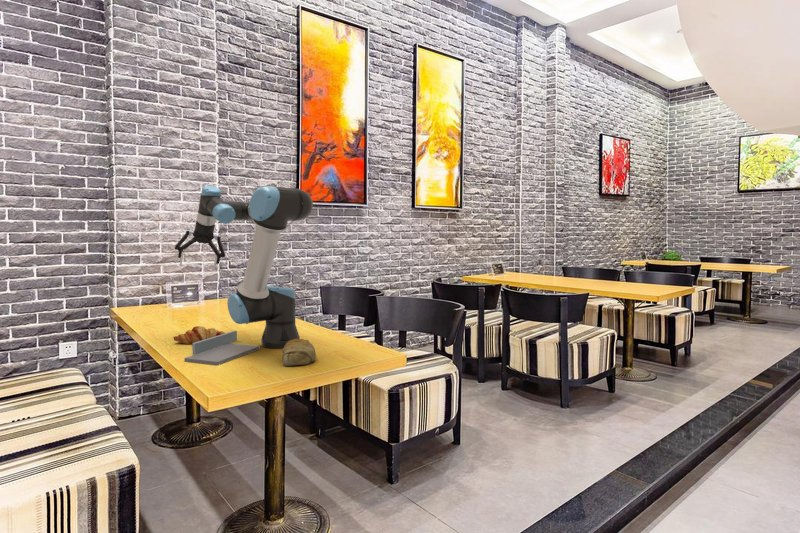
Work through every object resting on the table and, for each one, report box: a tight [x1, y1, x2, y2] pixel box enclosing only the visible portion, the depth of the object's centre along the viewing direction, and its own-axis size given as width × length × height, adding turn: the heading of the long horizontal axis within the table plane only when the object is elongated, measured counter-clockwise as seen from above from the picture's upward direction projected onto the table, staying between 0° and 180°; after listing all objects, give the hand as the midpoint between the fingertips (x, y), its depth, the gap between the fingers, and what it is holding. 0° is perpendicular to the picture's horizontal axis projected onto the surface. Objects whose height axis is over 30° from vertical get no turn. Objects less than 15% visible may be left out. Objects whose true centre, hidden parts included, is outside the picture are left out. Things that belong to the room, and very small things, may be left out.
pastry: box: [281, 338, 317, 367], centre depth 172 cm, size 14×12×8 cm
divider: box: [191, 330, 238, 355], centre depth 193 cm, size 1×24×4 cm, turn 161°
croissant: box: [173, 326, 226, 345], centre depth 201 cm, size 21×10×8 cm, turn 115°
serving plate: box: [183, 342, 261, 366], centre depth 181 cm, size 14×24×1 cm, turn 161°
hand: (197, 267), depth 215 cm, fingers open, 13 cm apart
